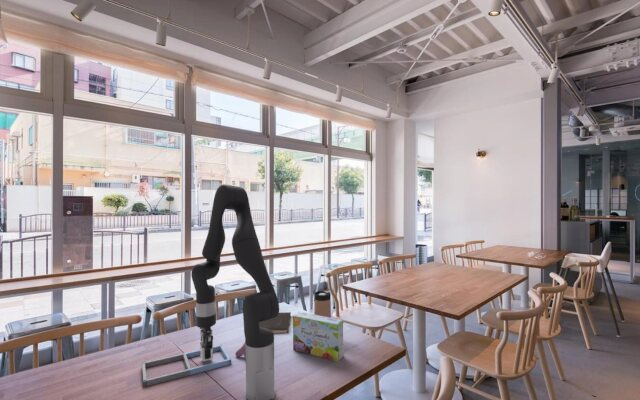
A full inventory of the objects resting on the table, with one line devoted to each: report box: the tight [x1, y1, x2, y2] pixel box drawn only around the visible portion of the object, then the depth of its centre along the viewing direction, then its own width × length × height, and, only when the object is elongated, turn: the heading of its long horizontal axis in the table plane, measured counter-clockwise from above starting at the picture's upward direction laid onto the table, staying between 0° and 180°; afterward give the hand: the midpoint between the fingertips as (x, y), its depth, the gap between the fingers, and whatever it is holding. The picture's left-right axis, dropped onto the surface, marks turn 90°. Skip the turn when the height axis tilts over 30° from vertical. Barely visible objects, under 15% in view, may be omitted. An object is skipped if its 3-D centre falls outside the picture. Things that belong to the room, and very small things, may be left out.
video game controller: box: [234, 342, 246, 358], centre depth 139 cm, size 10×5×7 cm, turn 170°
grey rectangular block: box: [199, 341, 214, 363], centre depth 131 cm, size 4×4×6 cm
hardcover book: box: [259, 311, 292, 334], centre depth 169 cm, size 16×23×2 cm
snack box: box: [292, 311, 344, 362], centre depth 137 cm, size 21×6×15 cm, turn 62°
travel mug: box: [313, 290, 332, 318], centre depth 153 cm, size 8×8×20 cm
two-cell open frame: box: [141, 344, 232, 388], centre depth 128 cm, size 15×30×2 cm, turn 120°
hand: (206, 355), depth 131 cm, fingers closed on grey rectangular block, 3 cm apart
